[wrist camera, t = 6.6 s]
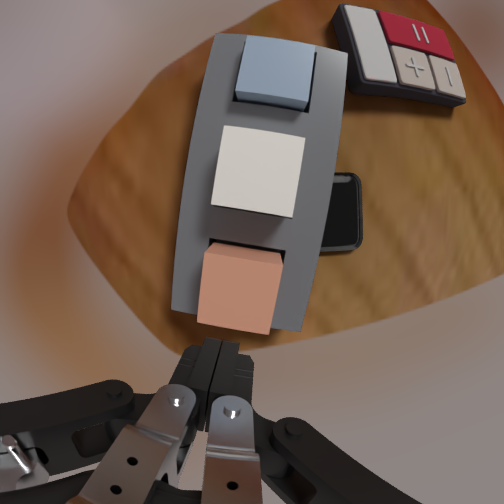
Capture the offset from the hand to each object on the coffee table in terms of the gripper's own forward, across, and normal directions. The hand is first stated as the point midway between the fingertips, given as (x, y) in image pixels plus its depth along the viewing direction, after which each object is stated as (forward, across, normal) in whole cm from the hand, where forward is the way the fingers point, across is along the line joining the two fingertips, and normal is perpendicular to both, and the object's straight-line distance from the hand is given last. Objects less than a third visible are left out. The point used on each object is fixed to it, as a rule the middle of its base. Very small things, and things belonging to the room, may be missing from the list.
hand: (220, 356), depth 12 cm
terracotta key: (+12, 0, 0) cm, 12 cm away
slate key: (+14, 0, -18) cm, 23 cm away
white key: (+12, 0, -9) cm, 15 cm away
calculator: (+18, -14, -27) cm, 35 cm away
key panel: (+17, 0, -9) cm, 19 cm away
